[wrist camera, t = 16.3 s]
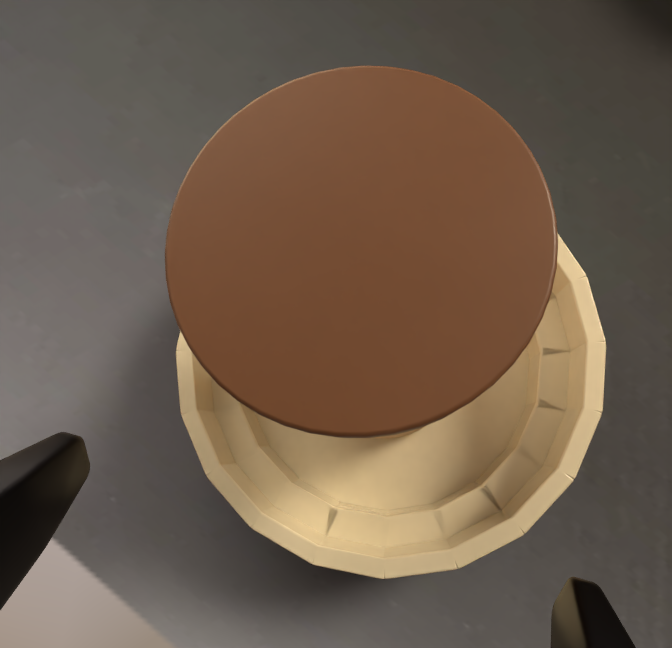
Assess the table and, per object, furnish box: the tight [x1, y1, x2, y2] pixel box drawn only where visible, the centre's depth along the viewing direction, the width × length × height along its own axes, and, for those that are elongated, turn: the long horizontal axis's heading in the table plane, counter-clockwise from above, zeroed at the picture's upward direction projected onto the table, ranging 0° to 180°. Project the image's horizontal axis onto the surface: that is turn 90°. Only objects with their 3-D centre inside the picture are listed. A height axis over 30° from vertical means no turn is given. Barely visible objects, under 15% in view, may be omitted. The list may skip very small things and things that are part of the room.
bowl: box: [176, 233, 606, 579], centre depth 19 cm, size 14×14×4 cm
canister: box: [165, 66, 558, 438], centre depth 14 cm, size 6×6×13 cm
